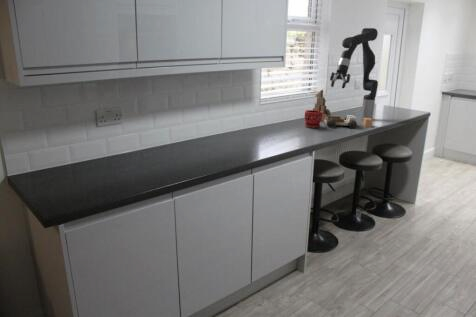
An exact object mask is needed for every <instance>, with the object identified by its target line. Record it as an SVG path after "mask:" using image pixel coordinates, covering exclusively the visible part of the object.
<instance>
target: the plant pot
mask: <svg viewBox="0 0 476 317" xmlns="http://www.w3.org/2000/svg"><path fill="white" fill-rule="evenodd" d="M322 113H323V112H321V111H316V110H313V109H309V110H308V109H307V110H305V111H304V122H305V123H304V126H305V127H307V128H310V129H311V128H312V129H317V128H319V127H320V126H321V124H320V123H321V122H322V120H321V119H322ZM320 116H321V117H320ZM312 117H313V118H312ZM317 117H318V119H317Z"/></svg>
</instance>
